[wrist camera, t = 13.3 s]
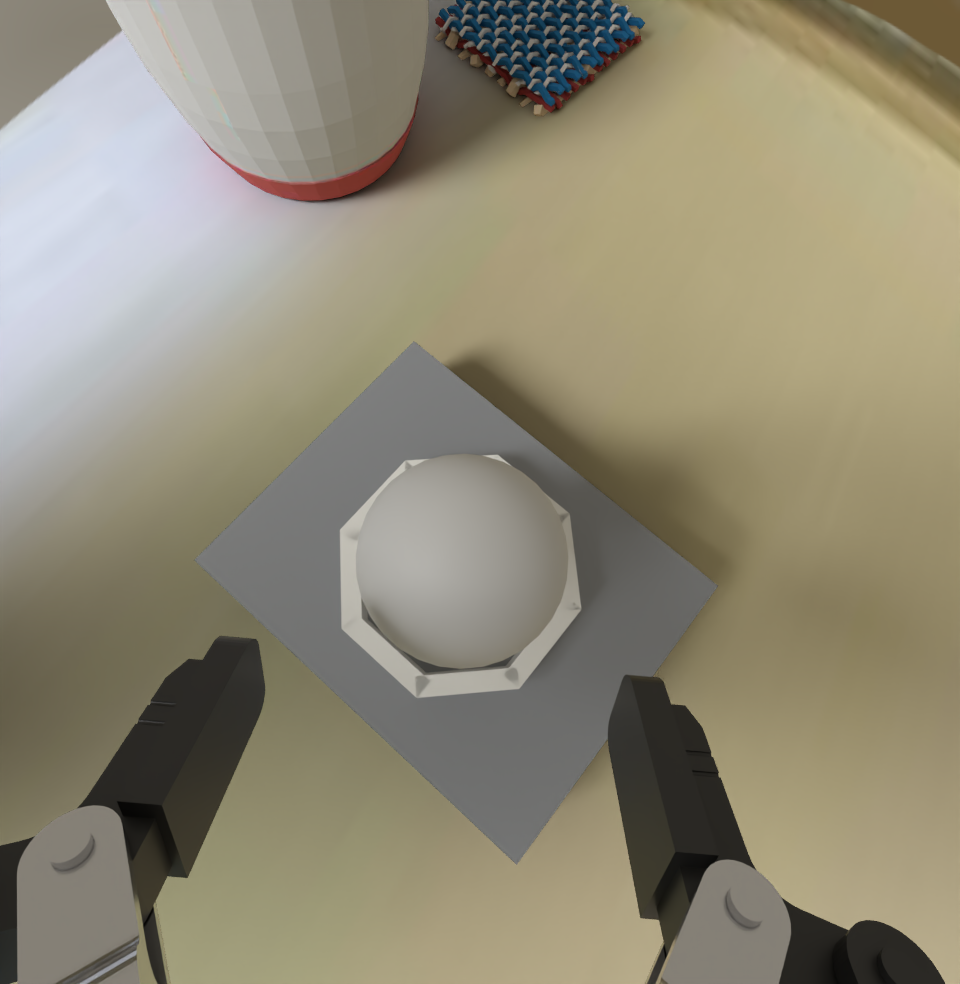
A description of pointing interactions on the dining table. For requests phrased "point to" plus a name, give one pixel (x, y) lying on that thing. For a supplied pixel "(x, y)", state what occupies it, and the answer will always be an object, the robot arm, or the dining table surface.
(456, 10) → the woven mat
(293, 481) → the grey ring holder base
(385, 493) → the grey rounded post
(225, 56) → the citrus juicer
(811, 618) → the dining table surface
